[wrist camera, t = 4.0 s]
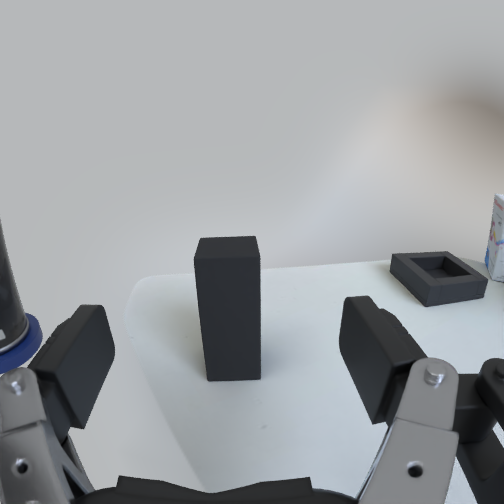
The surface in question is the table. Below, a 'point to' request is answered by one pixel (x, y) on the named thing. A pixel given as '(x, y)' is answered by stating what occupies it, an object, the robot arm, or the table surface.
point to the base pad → (438, 277)
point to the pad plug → (229, 306)
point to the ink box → (496, 241)
